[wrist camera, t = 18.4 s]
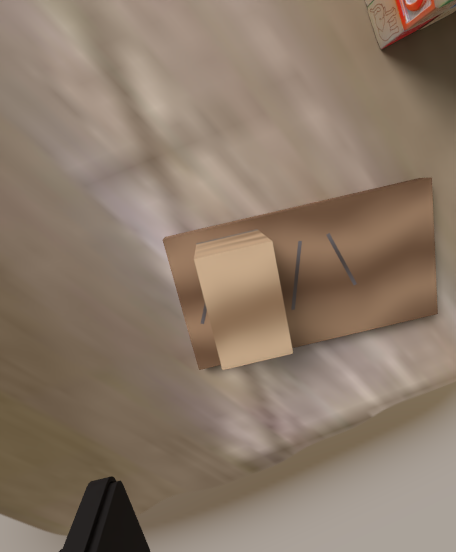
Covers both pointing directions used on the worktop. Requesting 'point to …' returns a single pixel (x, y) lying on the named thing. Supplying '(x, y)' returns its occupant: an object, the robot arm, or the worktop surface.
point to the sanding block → (243, 298)
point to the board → (330, 264)
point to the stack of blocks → (405, 17)
